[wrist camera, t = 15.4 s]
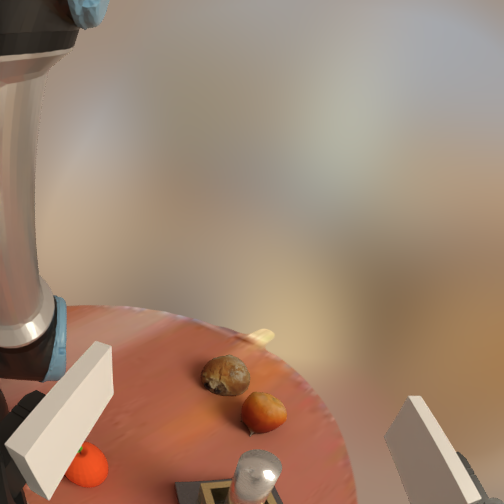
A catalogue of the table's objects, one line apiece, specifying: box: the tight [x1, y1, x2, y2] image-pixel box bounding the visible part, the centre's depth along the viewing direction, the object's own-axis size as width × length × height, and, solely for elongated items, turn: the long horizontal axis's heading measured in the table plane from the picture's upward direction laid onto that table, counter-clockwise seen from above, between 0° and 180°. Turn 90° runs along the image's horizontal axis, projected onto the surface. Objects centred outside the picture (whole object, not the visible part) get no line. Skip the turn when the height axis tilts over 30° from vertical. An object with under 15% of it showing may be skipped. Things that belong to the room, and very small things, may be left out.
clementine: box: [65, 441, 108, 488], centre depth 28 cm, size 8×7×7 cm
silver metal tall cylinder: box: [223, 450, 282, 504], centre depth 26 cm, size 5×5×14 cm
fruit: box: [241, 392, 287, 437], centre depth 48 cm, size 8×8×8 cm
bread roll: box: [201, 355, 250, 396], centre depth 59 cm, size 10×10×8 cm
